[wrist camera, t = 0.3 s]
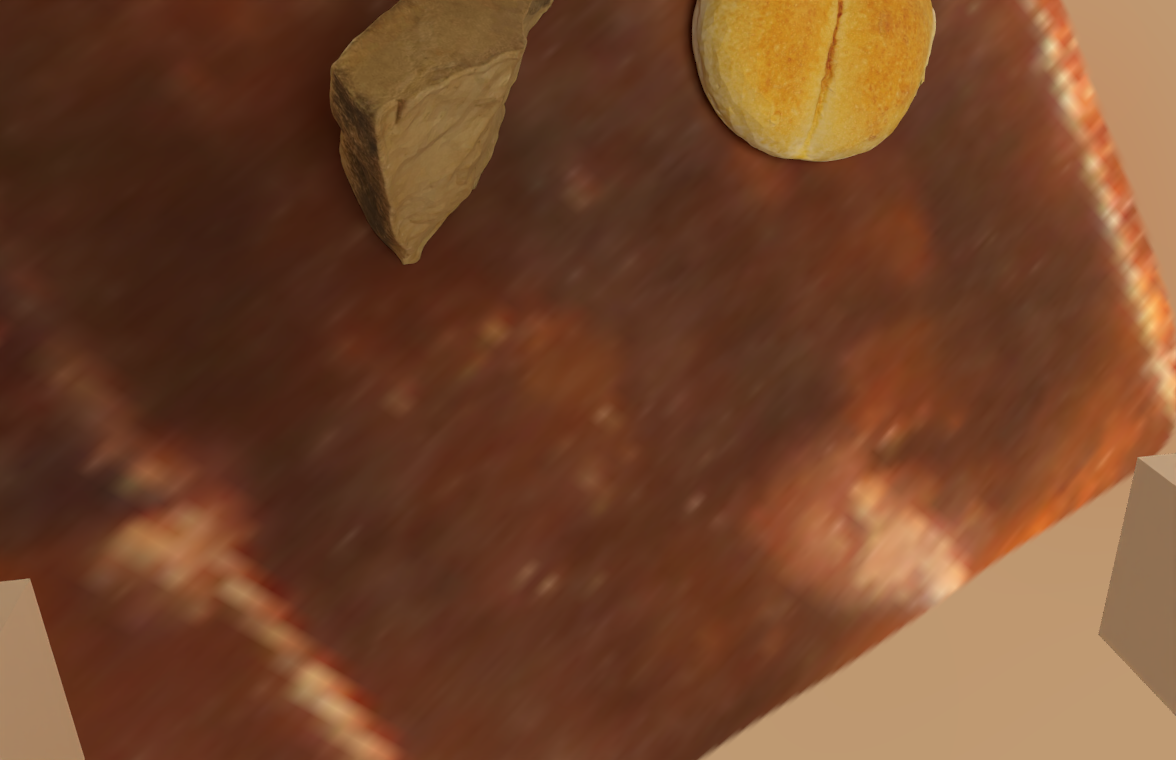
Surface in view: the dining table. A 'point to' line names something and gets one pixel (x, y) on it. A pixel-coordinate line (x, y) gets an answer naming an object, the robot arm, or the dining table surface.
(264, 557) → the dining table surface
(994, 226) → the dining table surface
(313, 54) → the dining table surface
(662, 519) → the dining table surface
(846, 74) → the bread roll
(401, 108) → the rock
